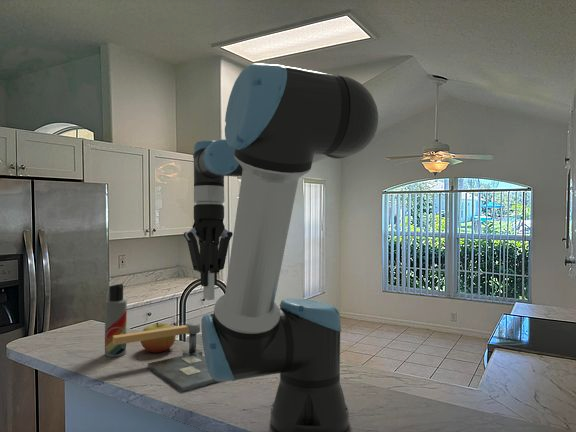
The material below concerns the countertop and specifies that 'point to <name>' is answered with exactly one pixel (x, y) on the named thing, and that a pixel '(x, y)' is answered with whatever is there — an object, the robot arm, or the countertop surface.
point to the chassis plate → (184, 371)
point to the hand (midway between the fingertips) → (208, 299)
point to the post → (192, 345)
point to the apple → (158, 339)
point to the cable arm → (156, 333)
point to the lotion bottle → (115, 320)
